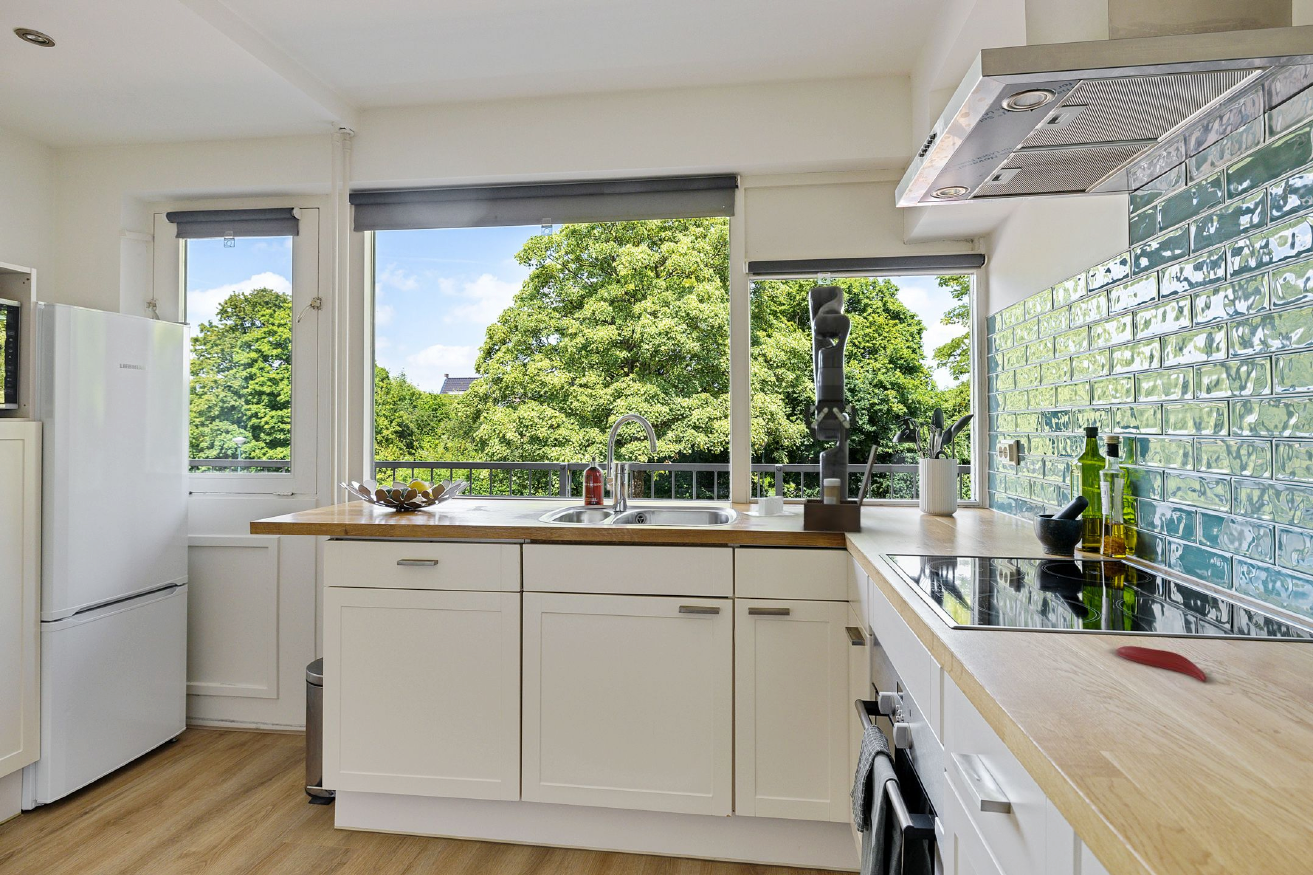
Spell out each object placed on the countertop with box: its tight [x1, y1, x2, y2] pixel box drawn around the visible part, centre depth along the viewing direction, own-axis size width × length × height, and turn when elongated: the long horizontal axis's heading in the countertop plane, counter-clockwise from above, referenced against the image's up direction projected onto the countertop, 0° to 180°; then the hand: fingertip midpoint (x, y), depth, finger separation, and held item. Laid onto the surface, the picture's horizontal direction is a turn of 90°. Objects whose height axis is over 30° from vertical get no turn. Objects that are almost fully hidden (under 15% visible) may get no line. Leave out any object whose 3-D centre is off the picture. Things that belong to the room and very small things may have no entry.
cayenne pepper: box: [1115, 645, 1207, 683], centre depth 91 cm, size 12×5×2 cm, turn 8°
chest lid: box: [857, 444, 879, 505], centre depth 207 cm, size 16×13×1 cm
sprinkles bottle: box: [824, 479, 840, 504], centre depth 209 cm, size 5×5×14 cm
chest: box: [803, 498, 862, 534], centre depth 209 cm, size 15×13×8 cm
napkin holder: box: [741, 495, 796, 517], centre depth 243 cm, size 15×11×6 cm
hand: (830, 441), depth 210 cm, fingers open, 8 cm apart
